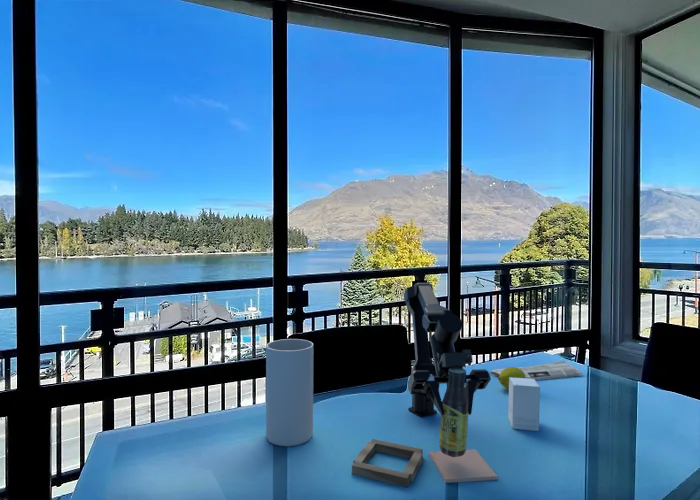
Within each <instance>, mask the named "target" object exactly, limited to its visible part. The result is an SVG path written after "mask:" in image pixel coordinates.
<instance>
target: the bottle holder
mask: <svg viewBox="0 0 700 500" xmlns="http://www.w3.org/2000/svg"><path fill="white" fill-rule="evenodd" d="M376 452H377V453H382V454H386V455H387V454H388V455H392V456H397V457H399V458H405V459H409V461H408V463H407V465H406V466H405V468H404V470H403V471H399V470H395V469H391V468H386V467H383V466H377V465H374V464H369V463H368V462H369V461H370V460H371V458H372V457H373V455H374V454H375V453H376ZM423 452H424V451H423V448H419V447H414V446H409V445H405V444H400V443H394V442H392V441H391V442H390V441H385V440H381V439H375V438H373V439H372V440H371V441H368V442H367V443H366V444H365V446H364V447H363V448H362V449H361V451H360V452H358V454H357V455H356V456H355V458H354V459H353V460H352V464H351V475H355V476H358V477H363V478H367V479H371V480H375V481H379V482H383V483H386V484H387V483H388V484H392V485H396V486H399V487H403V488H408V487H409V484H413V481H414V479H415V478H416V475H417V473H418V471H419V469H420V468H421V465H422V463H423V456H424V455H423Z"/></svg>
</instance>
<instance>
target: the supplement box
mask: <svg viewBox="0 0 700 500" xmlns="http://www.w3.org/2000/svg"><path fill="white" fill-rule="evenodd" d="M540 396H541V386H540V385H539V383H538V382H537V381H535V379H528V378H509V389H508V409H507V410H508V412H507V417H508V421H509V424H510V427H511V428H512V429H515V430H523V431H535V432H539V431H540V410H541V409H540V404H541V403H540V402H541V401H540V398H541V397H540Z"/></svg>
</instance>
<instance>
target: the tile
mask: <svg viewBox="0 0 700 500" xmlns="http://www.w3.org/2000/svg"><path fill="white" fill-rule="evenodd" d="M428 453H429V457H430V459H431V461H432V462H433V464H434V466H435V467H436V469H437V471H438V472H439V474H440V476H441V477H442V480H443V481H444V483H445V484H447V483H448V484H450V483H463V482H464V483H465V482H478V481H493V480H498V475H497V473H495V471H494V470H493V469H492V468H491V466H490V465H489V464H488V463H487V462H486V460H485V459H484V457H482V455H480V453H479V451H477V449H466V452H465V454H464V455H462V456H459V457H451V456H448V455H446V454H444V453H442V451H441V450H440V451H439V450H438V451H429V452H428Z"/></svg>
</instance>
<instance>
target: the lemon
mask: <svg viewBox="0 0 700 500" xmlns="http://www.w3.org/2000/svg"><path fill="white" fill-rule="evenodd" d="M503 369H504V368H503ZM509 378H526V376H525V374H524V372H523V371H522V370H521V369H519V367H515V366H514V367H512V366H510V367H506V369H504V370H503V371H502V372H501V373H500V375H499V376H497V379H498V381H499V382H498V383H500V385H501V386H502V387H503V388H505V389H506V390H509Z"/></svg>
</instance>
